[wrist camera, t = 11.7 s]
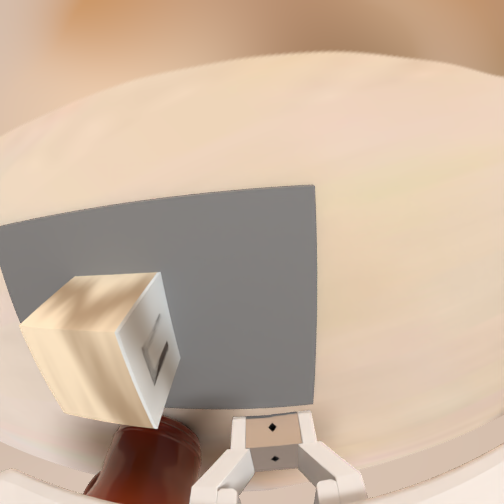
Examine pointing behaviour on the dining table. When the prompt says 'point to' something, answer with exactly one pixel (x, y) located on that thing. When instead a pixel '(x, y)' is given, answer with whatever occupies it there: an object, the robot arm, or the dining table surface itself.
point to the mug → (149, 465)
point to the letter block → (107, 347)
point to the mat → (197, 283)
